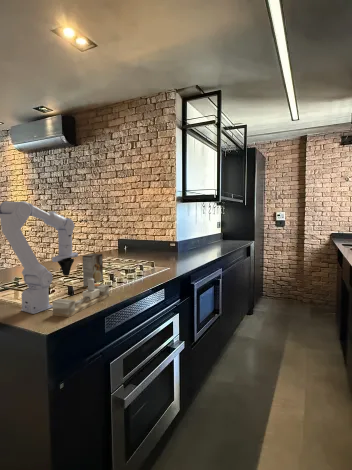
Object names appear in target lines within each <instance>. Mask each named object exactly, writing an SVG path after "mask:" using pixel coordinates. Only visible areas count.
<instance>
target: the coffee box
mask: <svg viewBox="0 0 352 470" xmlns="http://www.w3.org/2000/svg"><path fill="white" fill-rule="evenodd" d="M81 257H82V280H83V281H82V282H83V283H82V284H83V287H86V286H88V279H94V281H97V282H100V281H102V280H103V281H104V268H103V267H104V265H103V263H104V261H103V259H104V258H103V253H88V254H85V255H81Z"/></svg>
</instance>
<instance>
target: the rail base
mask: <svg viewBox="0 0 352 470" xmlns="http://www.w3.org/2000/svg"><path fill="white" fill-rule="evenodd" d="M94 285H95V284H94ZM94 287H95V289H100V293H99V296H98V297H96V298H94V299H92V300H90V297H85V298H83V297H82V298H81V299H78V300H76V301H75V300H73V299H67V298H66V299H64V298H58V299H56V300H53V301H52V304H51V305H52V306H53V307H52V316H56V317H57V316H58V317H62V318H70V317H72V316H74V315H76V314H78V313H80V312H81V311H83V310H86V309H87V308H88V307H91V306H93V305H94V304H95V305H96V304H97V303H98V302H100V301H102V300H105V299H106V298H108V297H110V285H109V284H103V283H102V284H100V286H94Z"/></svg>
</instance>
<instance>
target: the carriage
mask: <svg viewBox="0 0 352 470" xmlns="http://www.w3.org/2000/svg"><path fill="white" fill-rule="evenodd" d="M99 293H100V289H95V287H94V279H88V287H87V289H86V290H84V291H82V298H85V297H90V300H92V299H94V298H96V297H98V296H99Z"/></svg>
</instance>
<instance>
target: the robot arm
mask: <svg viewBox="0 0 352 470" xmlns="http://www.w3.org/2000/svg"><path fill="white" fill-rule="evenodd" d="M29 217H33V218H37V219H39V220H42V221H43V223H44V224H45V225H47V226H49V227H52V228H54V229H55V231H57V242H58V245H57V246H58V255H56V256H55V255H54V256H52V258H51V260H52V263H58V265H59V266H60V268H61V271H62V275H63V276H65V277H67V276H70V273H71V268H72V266H73V263H74V261H75V259H74V258H78V257H79V252H73V235H74V229H75V226H76V225H75V222H74V220H73V219H72V218H70V217H65V216H64V215H62V214H61V215H60V214H58V213H57V211H54V210H51V211H45V210H43V209H41V208H39V207H38V206H35V205H33V204H32V202H31V203H30V202H27V201H24V200H22V201H21V200H20V201H3V202H1V203H0V227H1V232H2V234H3V235H4V237H5V239H6V240H7V242H8V244H9V245H10V248H11V249H12V251H13V252H14V254H15V255H16V257H17V259H18V261H19V262H20V263H21V265H22V267H23V269H22V271H21V274H22V277H23V282H24V284H26V285H27V286H26V287H27V289H24V290H23V291H22V292H21V309H20V311H22V312H25V313H28V314H31V315H32V314H33V315H34V314H37V313H40V312H44V311H47V310H49V309H53V306H52V304H50V294H49V293H50V292H49V291H50V290H49V287H50V286H51V284H52V282H53V279H54V277H53V274H52V272H51V271H49V270H48V269H47V267H46V266H45V265H43V264H41V263H40V262H39V261H38V260H39V259H37V257H36V254H35V253H34V251H33V249H32V248H31V246H30V244H29V242H28V240H27V238H26V236H25V235H24V233H23V230H22V228H23V227H24V225H25V223H26V222H27V220H28V219H29Z"/></svg>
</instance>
